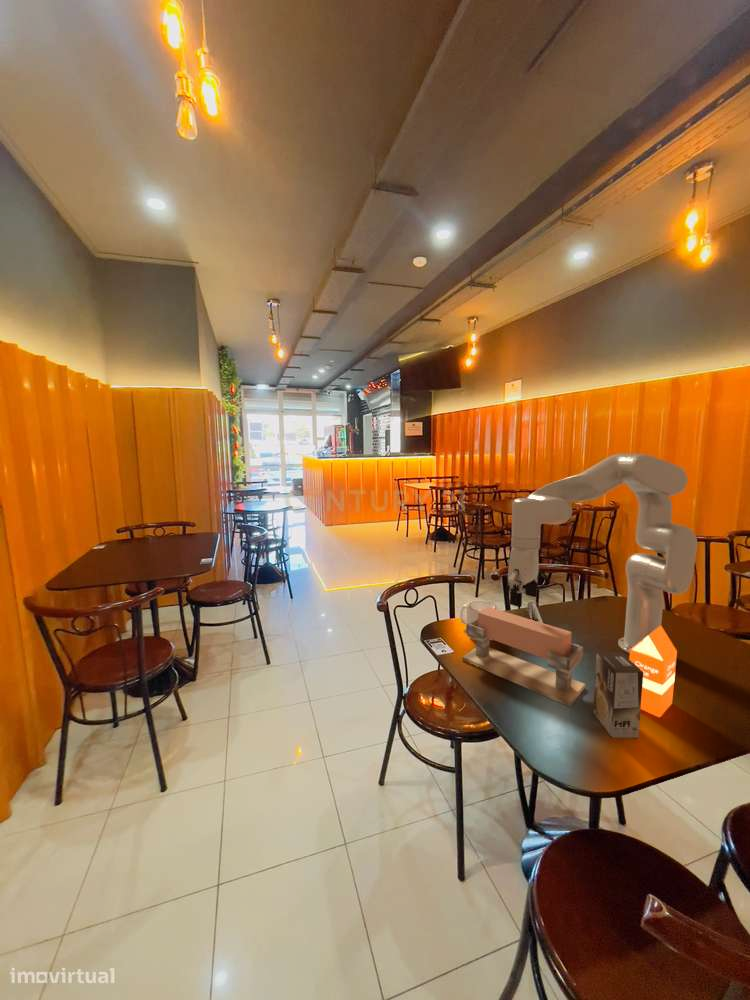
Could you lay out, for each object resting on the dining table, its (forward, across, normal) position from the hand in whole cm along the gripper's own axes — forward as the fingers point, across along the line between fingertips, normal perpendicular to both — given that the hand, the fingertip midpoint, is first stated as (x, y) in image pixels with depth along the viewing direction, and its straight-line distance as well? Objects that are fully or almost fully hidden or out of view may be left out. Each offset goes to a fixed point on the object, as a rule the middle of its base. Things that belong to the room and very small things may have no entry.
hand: (523, 600), depth 115 cm
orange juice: (+23, -10, +30) cm, 39 cm away
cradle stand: (+22, 0, 0) cm, 22 cm away
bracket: (+23, -31, -8) cm, 39 cm away
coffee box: (+22, +6, +26) cm, 35 cm away
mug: (+22, -14, -22) cm, 34 cm away
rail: (+13, 0, 0) cm, 13 cm away
